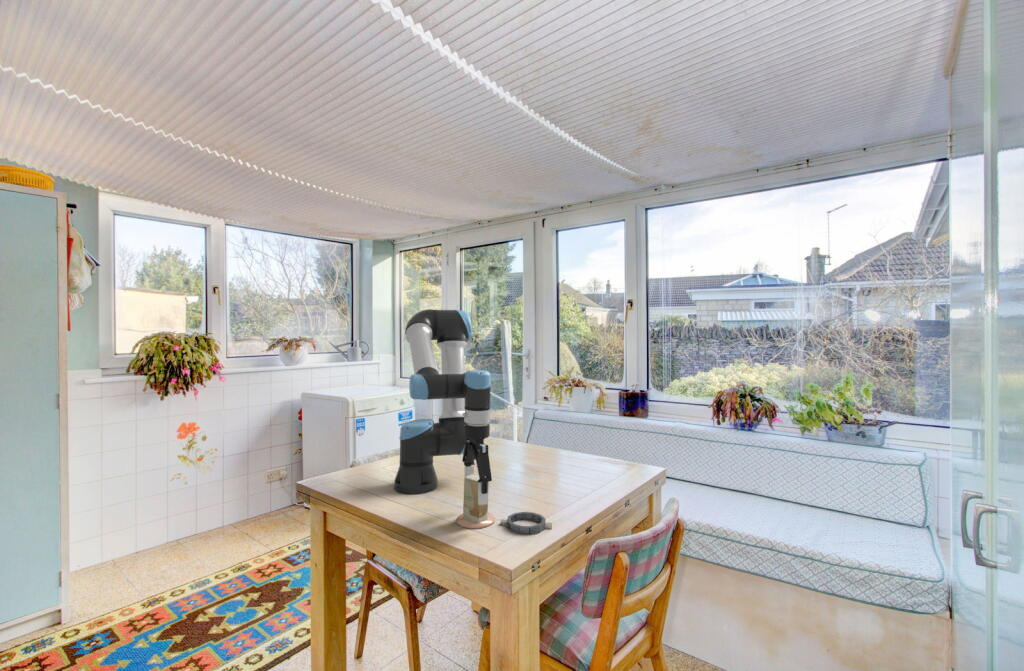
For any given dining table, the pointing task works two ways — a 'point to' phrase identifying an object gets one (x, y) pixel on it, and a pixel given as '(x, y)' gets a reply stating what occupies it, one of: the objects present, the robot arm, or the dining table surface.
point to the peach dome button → (474, 525)
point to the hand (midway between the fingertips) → (475, 495)
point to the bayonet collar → (526, 529)
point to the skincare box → (473, 500)
